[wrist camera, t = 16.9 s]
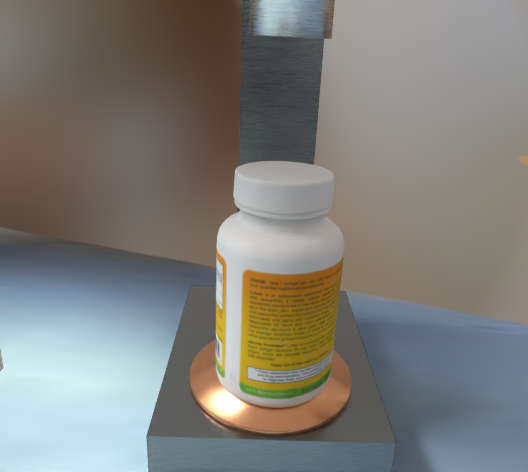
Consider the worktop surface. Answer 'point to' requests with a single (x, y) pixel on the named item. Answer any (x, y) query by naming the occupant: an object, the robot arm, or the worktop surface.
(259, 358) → the supplement bottle
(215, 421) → the arbor press
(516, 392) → the worktop surface
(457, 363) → the worktop surface
